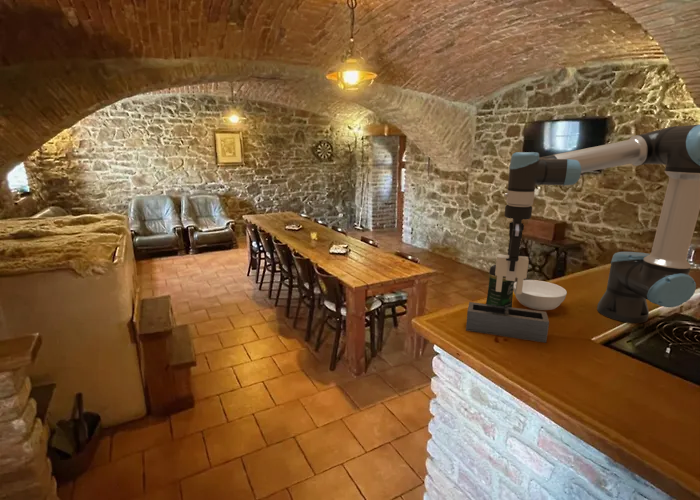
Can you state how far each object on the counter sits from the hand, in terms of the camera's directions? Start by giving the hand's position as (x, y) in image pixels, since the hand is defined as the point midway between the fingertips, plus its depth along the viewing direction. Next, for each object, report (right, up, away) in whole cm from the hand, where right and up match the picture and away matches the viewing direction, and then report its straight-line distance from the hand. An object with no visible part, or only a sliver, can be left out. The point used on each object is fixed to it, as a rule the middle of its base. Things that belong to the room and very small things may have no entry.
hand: (510, 277), depth 120 cm
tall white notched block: (0, -4, +1) cm, 5 cm away
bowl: (+21, -13, +25) cm, 35 cm away
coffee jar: (+4, -14, +19) cm, 24 cm away
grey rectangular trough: (0, -18, +5) cm, 19 cm away
